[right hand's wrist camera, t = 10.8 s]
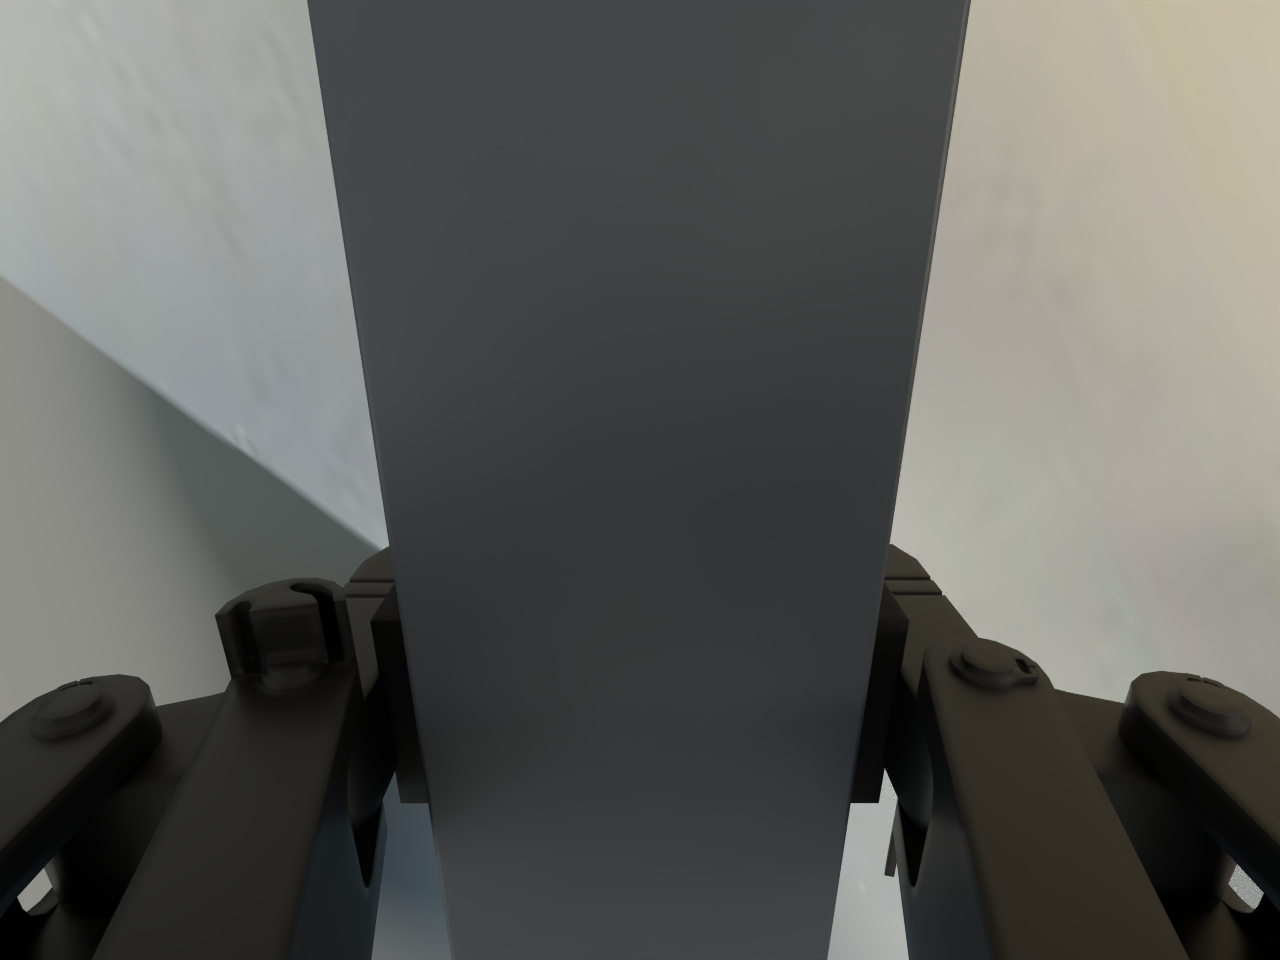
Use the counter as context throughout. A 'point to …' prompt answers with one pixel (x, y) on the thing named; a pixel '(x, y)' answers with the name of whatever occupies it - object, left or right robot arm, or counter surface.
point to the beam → (639, 435)
